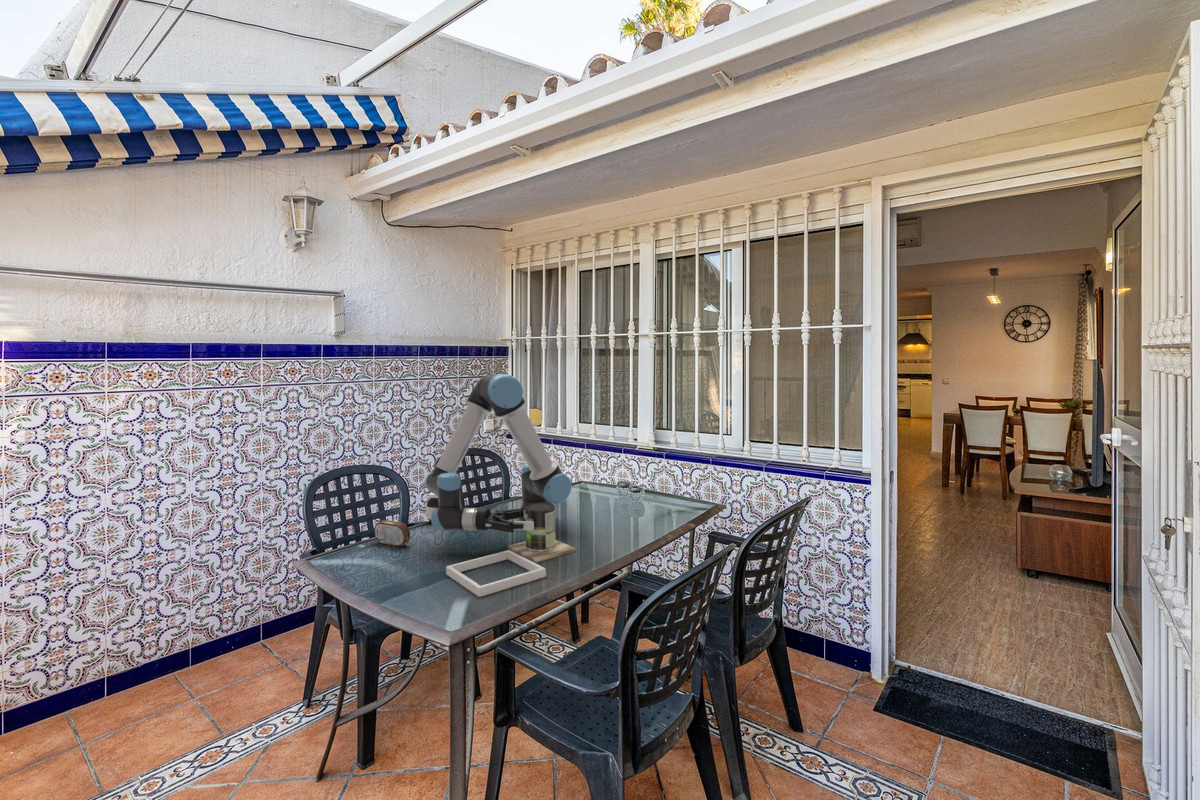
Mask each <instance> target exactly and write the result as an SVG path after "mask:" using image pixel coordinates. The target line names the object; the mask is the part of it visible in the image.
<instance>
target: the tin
mask: <svg viewBox="0 0 1200 800" xmlns="http://www.w3.org/2000/svg"><path fill="white" fill-rule="evenodd" d="M373 529H374V530H373V531H374V537H375V539H376V538H379V539H383V540H386V541H391V542H395V543H390V542H384V541H378V542H379V543H380V544H381V545H387V546H388V545H389V546H393V547H402V546H405V545H407V544H408V543H409V542H410V540H411V532H410V530H409V527H408V526H407V525H406V524H405V523H403V522H402V521H401V522H400V521H394V520H389V519H388V520H387V519H383V520H381V521H378V522H377V523H376V524H375V525H374V528H373ZM407 542H408V543H407ZM397 543H401V544H397ZM405 543H406V544H405ZM402 544H403V545H402Z"/></svg>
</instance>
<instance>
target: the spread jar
mask: <svg viewBox="0 0 1200 800" xmlns="http://www.w3.org/2000/svg"><path fill="white" fill-rule="evenodd" d="M438 504H439V503H438V496H436V495H435V494H433V493H431V492H429V499H428V500H427V502H426V505H425V506H426V507H425V511H426V512H425V513H426V519H427V520H428V521H429V522H431V518H432V512H433V510H434V509H435V508H438V506H439V505H438ZM431 523H432V522H431Z"/></svg>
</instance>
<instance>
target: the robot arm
mask: <svg viewBox="0 0 1200 800" xmlns="http://www.w3.org/2000/svg"><path fill="white" fill-rule="evenodd" d="M525 404H526V400H525V398H524V389H523V385H522V384H521V382H520V380H518V378H516V377H514V376H512V375H510V374H506V373H500V374H496V373H489V374H486V375H484V376H482V377H481V378H479V380H478V381H477V383H475V385H474V387H473V389H472V390H471V391H470V395H469V396H468V398H467V400H466V405H467V406H466V407H465V409H464V410H465V411H464V412H463V414H462V416H461V418H460V420H459V421H458V423H457V424H456V427H455V429H454V431H453V433H452V434H451V436H450V438H449V440H448V442H447V444H446V446H445V449H444V450H443V452H442V454H441V456H440V458H439V460H438V461H437V464H436V466H435V467H434V469H433V471H432V472H430V473H428V474H427V476H426V477H425V479H424V485H425V488H426V489H427V490H428V492H429V493H433V494H435V495H436V496H438V503H439V504H438V505H439V506H438V508H435V509H434V510H433V512H432V518H431V525H432V527H433V528H434V529H435V530H442V531H468V532H472V531H476V530H477V531H488V530H495V531H500V532H505V533H511V534H512V533H514V531H526V530H534V521H525V506H527V505H530V504H534V503H550V504H553V505H557V504H562V503H564V502H565V501H566V500H567V499H568V498H569V497H570V495H571V492H572V487H573V486H572V481H571V478H570V477H569V476H568V475H567V474H565V473H563V472H562V470H561V468H560V465H559V464H558V462H557V461H554V460H553V461H552V460H551V458H550V455H549V454H548V452H547V450H546V448H545V447H544V444H543V442H542V440H541V438H540V436H539V434H538V433H537V431H536V429H535V426H534V425H533V423H532V421H531V419H530V417H529V415H528V413H527V412H526V410H525V408H524V407H525ZM492 410H493V412H494V414H495V416H496V417H497V418H500V419H502V420H503V422H504V424H505V426H506V428H507V429H508V431H509V433H510V435H511V437H512V439H513V441H514V442H515V444H516V446H517V448H518V450H519V452H520V453H521V456H522V458H523V459H524V461H525V462H526V464H525V465H523V466H522V467H521V472H520V473H521V474H520V477H521V479H520V481H521V505H520V508H514V509H513V508H512V509H504V510H502V509H500V510H495V512H494V513H492V512H491V509H490V508H488V507H478V508H477V507H462V505H461V504H462V502H461V501H462V500H461V478H460V474H458V472H457V471H458V469H459V467H460V466H461V464H462V461H463V460H464V457H465V456H466V454H467V452H468V450H469V448H470V446H471V445H472V442H473V440H474V438H475V437H476V434H477V432H478V430H479V429H480V427H481V425H482V423H483V421H484V419H485V417H486V416H487V415H489V414H490V413H491V412H492ZM516 519H518V520H516ZM510 520H515V521H510ZM556 520H557V514H556V512H555V521H556Z"/></svg>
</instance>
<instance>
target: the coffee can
mask: <svg viewBox="0 0 1200 800" xmlns="http://www.w3.org/2000/svg"><path fill="white" fill-rule="evenodd" d="M555 509H556V504H553V503H552V504H550V503H534V504H530V505H527V506H525V521H534V530H525V541H526V549H527V550H529V551H534V552H544V551H549V550H552V549H554V548H555V547H556V545H555V544H556V543H555V540H556V520H555V513H556V510H555Z"/></svg>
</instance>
